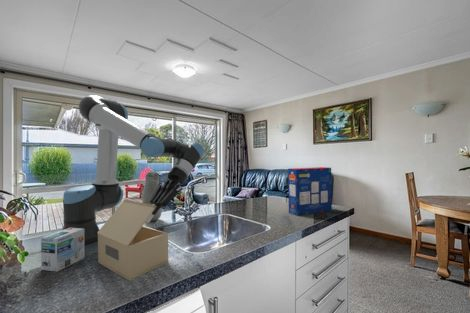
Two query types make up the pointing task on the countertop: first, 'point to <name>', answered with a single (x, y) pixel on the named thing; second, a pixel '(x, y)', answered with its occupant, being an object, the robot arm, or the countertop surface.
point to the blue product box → (309, 190)
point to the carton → (134, 253)
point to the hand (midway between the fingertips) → (144, 221)
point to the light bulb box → (62, 249)
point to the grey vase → (151, 191)
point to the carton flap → (126, 221)
